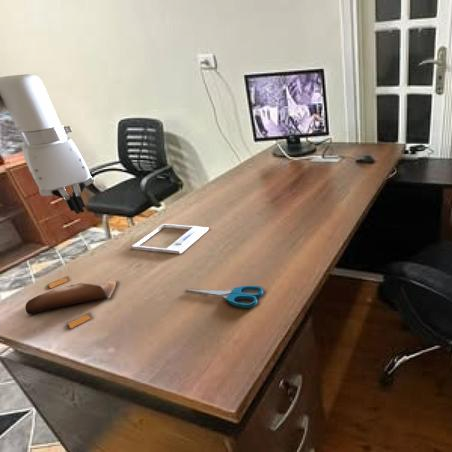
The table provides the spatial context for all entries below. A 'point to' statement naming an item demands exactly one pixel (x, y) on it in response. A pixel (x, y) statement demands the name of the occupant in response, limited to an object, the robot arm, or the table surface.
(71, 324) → the tape marks
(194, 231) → the photo frame
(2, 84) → the robot arm
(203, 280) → the table surface
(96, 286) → the sunglasses case
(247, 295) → the scissors
